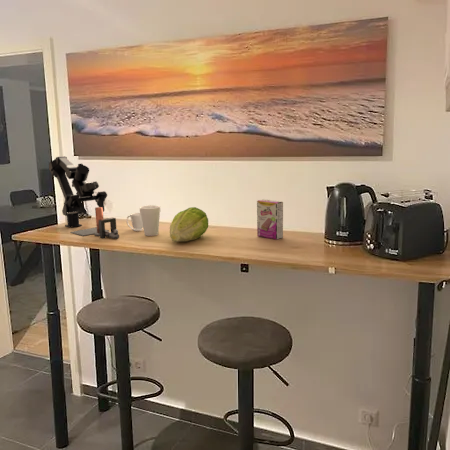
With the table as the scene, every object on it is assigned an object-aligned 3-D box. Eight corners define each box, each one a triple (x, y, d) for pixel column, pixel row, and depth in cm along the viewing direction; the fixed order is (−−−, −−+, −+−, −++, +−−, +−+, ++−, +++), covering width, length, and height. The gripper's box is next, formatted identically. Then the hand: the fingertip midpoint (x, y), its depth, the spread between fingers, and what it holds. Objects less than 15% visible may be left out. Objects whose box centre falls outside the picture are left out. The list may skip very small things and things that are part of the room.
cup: (140, 232, 233) (139, 215, 231) (123, 230, 237) (122, 214, 235) (148, 229, 239) (147, 213, 237) (131, 227, 243) (130, 212, 241)
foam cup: (148, 237, 221) (146, 209, 218) (137, 234, 228) (135, 207, 225) (165, 234, 227) (164, 206, 224) (154, 231, 234) (153, 204, 231)
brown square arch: (99, 237, 222) (98, 219, 221) (114, 235, 228) (112, 217, 226) (102, 238, 221) (101, 220, 219) (116, 235, 226) (115, 218, 224)
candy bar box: (256, 236, 218) (256, 200, 214) (263, 234, 221) (263, 199, 218) (276, 240, 210) (276, 202, 207) (283, 238, 214) (283, 201, 210)
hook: (91, 235, 229) (89, 207, 226) (103, 232, 233) (101, 206, 230) (111, 240, 217) (109, 211, 214) (123, 238, 221) (121, 209, 218)
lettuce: (152, 230, 205) (178, 214, 198) (178, 212, 226) (202, 197, 219) (170, 258, 207) (196, 244, 199) (194, 238, 228) (218, 224, 221)
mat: (70, 232, 235) (70, 231, 235) (96, 227, 245) (96, 227, 245) (83, 236, 227) (83, 235, 227) (109, 231, 236) (109, 230, 236)
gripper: (68, 178, 223) (82, 204, 217) (103, 174, 236) (118, 199, 230) (61, 194, 230) (75, 219, 224) (96, 189, 243) (110, 213, 237)
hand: (95, 212), depth 229 cm, fingers open, 9 cm apart
